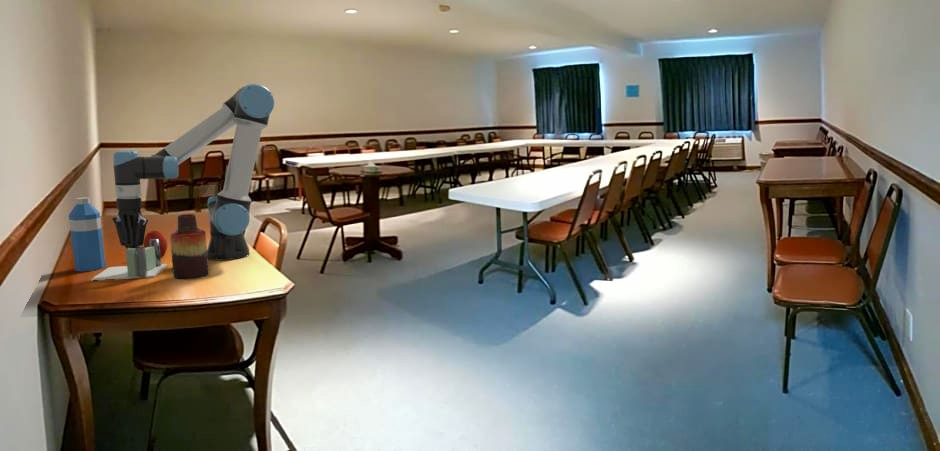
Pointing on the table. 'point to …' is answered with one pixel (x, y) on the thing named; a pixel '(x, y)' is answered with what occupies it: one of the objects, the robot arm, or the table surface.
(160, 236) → the apple
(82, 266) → the water bottle
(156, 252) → the hinge post
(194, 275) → the vase
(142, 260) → the stop post
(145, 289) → the table surface
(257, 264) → the table surface
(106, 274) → the board
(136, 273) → the gate
